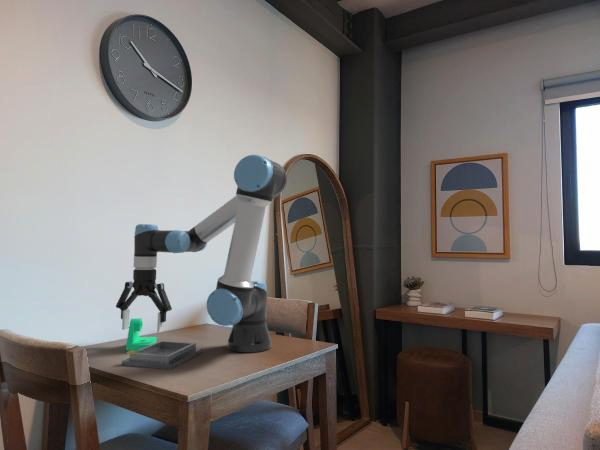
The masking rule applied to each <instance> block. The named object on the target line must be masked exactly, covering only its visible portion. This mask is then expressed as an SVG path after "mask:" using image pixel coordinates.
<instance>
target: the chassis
mask: <svg viewBox="0 0 600 450" xmlns="http://www.w3.org/2000/svg"><path fill="white" fill-rule="evenodd" d="M202 353H203V348H202V347H197V343H196V342H185V341H169V340H159V341H157V342H156V343H154V344H152V345H149V346H147V347H144V348H142V349H139V350H127V352H126V354H127V355H129V358H127V359H124V360H121V366H124V367H125V366H127V367H136V368H137V367H138V368H147V369H148V368H151V369H152V368H153V369H161V370H162V369H163V370H172V369H175V368H176V367H178V366H180V365H182V364H183V363H185V362H187V361H189V360H190V359H192V358H194V357H195V356H198V355H199V354H202Z"/></svg>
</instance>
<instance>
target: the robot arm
mask: <svg viewBox="0 0 600 450" xmlns="http://www.w3.org/2000/svg"><path fill="white" fill-rule="evenodd" d="M233 180H234V182H235V184H236V186H237V187H236V193H235V196H233V197H232V198H231V199H229V200H228V201H227V202H225V203H224V204H223V205H221V206H219V208H217V209H216V210H215V211H213V212H212V213H211V214H209V215H208V216H207V217H205V218H203V220H201V221H200V222H198V223H197V224H196V225H194V226H193V227H192V228H191V229H189V230H177V229H176V230H175V229H173V230H168V229H167V230H159V227H158V225H157V224H146V223H145V224H144V223H143V224H142V223H140V224H139V223H138V224H137V225H136V226H135V229H134V237H133V238H134V241H133V242H134V246H133V247H134V249H133V250H134V252H133V254H134V255H133V268H134V269H133V270H132V271H133V275H132V278H133V281H125V282H124V283H125V284H124V288H123V290H122V292H121V294H120V295H119V296H120V297H119V299H118V301H117V303H116V305H115V308H117V309H120V319H121V320H122V324H121V325H122V328H121V330H127V329H128V330H129V325H130V310H131V309H129V307H131V305H132V304H133V302H134V301H135V300H136V299H137V297H138V296H139V297H141V296H144V297H148V298H150V299H151V301H152V302H153V304H154V305H155V307H156V308H157V309H158V311H159V312H157V326H156V329H157V333H162V332H164V330H165V329H164V327H165V323H166V321H167V312H170V311H172V310H173V308H172V305H171V303H170V300H169V298H168V295H167V293H166V290H165V284H164V283H163V282H161V283H156V280H157V270H156V268H157V261H158V260H157V259H158V253H173V254H182V253H196V252H201V251H203V250H204V249H206V247H207V245H208V243H209V242H210V241H211V240H213V239H214V238H216V237H218V236H219V235H220V234H221V233H223V232H224V231H226V230H227V229H229V227H231V226H233V225H234V226H233V230H232V235H231V239H230V244H229V248H228V254H227V259H226V263H225V268H224V273H223V274H222V275H221V276H220V277H218V278H217V282H216V286H215V289H214V290H213V291H211V293H210V294H209V296H208V297H207V298H206V299H207V300H206V310H207V314H208V315H209V317H210V319H211V320H212V321H213V322H214V323H215V324H217V325H220V326H223V327H224V326H225V327H228V326H232V327H231V330H230V333H229V337H228V339H227V349H228V350H229V351H233V352H236V353H237V352H238V353H259V352H264V351H267V350H270V349H271V348H272V339H271V336H270V333H269V332H270V331H269V329H268V325H267V309H268V308H267V303H268V300H267V298H268V290H267V288H268V287H267V284H266V282H263V281H257V280H255V281H254V280H251V279H252V274H253V268H254V264H255V261H256V255H257V251H258V245H259V241H260V237H261V232H262V228H263V223H264V218H265V213H266V209H267V206H269V205H270V204H272V203H273V200H274V199H275V198H277V197H278V196H279V195H281V193H282V192H283V191H284V190H285V188H286V186H287V182H288V177H287V173H286V170H285V168H284V167H283V166H282V165H281V164H279V162H276V161H273V160H272V159H269V158H268V157H266V156H262V155H259V154H250V155H249V154H248V155H246V156H245V157H243V158H241V159H240V160H239V161H238V162H237V164H236V166H235V168H234V170H233ZM132 288H133V290H132Z"/></svg>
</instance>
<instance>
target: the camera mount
mask: <svg viewBox="0 0 600 450" xmlns="http://www.w3.org/2000/svg"><path fill="white" fill-rule="evenodd" d="M142 329H143V319H142V318H131V319H129V328H128V333H127V338H126V344H125V345H126V349H125V350H126V351H130V350H139V349H142V348H144V347H147V346H149V345H152V344H154V343H157V342H158V341H157V339H158V338H157V336H143V337H142V336H140V332H142Z"/></svg>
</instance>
